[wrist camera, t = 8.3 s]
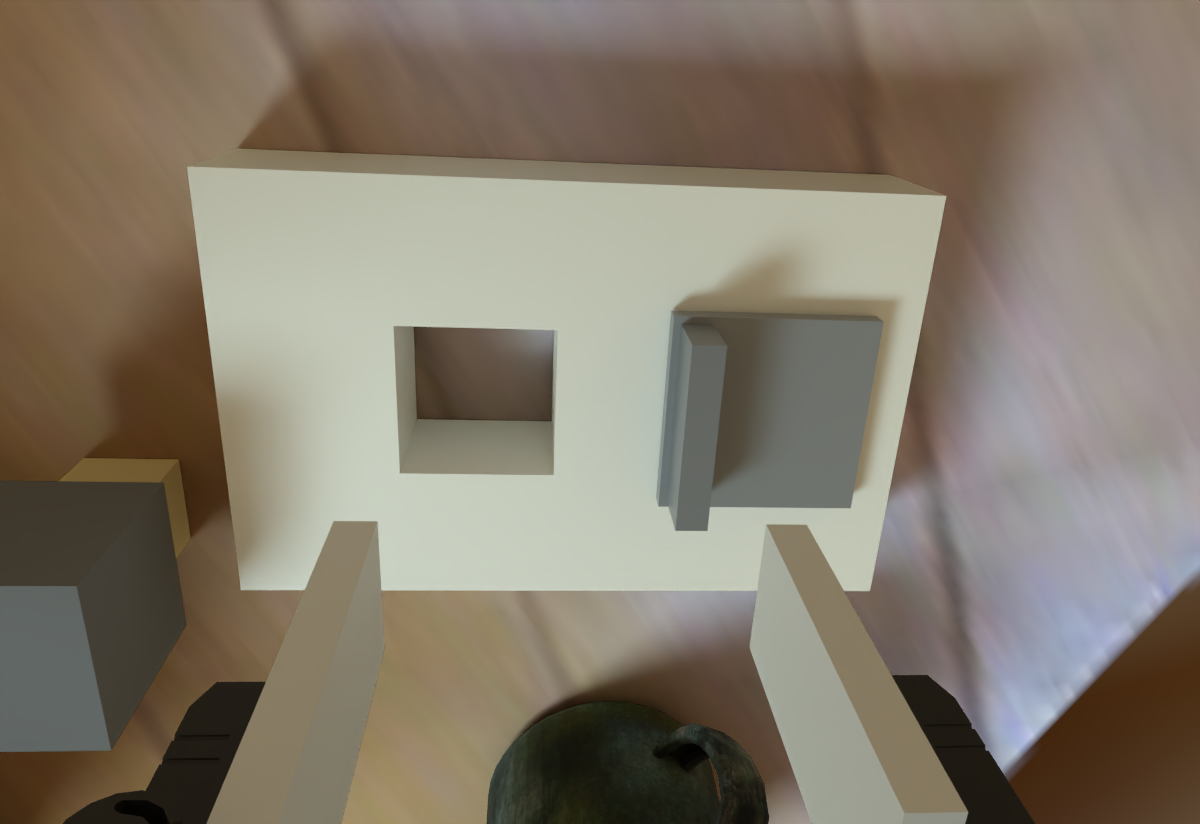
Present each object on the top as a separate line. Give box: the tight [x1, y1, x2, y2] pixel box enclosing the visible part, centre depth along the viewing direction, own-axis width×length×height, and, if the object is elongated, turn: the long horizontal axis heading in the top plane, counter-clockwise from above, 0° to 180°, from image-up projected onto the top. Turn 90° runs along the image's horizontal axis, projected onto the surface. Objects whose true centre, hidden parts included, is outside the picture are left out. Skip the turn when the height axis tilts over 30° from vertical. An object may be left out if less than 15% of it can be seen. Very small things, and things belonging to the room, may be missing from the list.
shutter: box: [656, 311, 883, 531], centre depth 28 cm, size 6×6×3 cm
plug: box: [0, 458, 191, 752], centre depth 29 cm, size 6×6×10 cm
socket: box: [187, 149, 946, 591], centre depth 30 cm, size 22×14×4 cm, turn 87°
